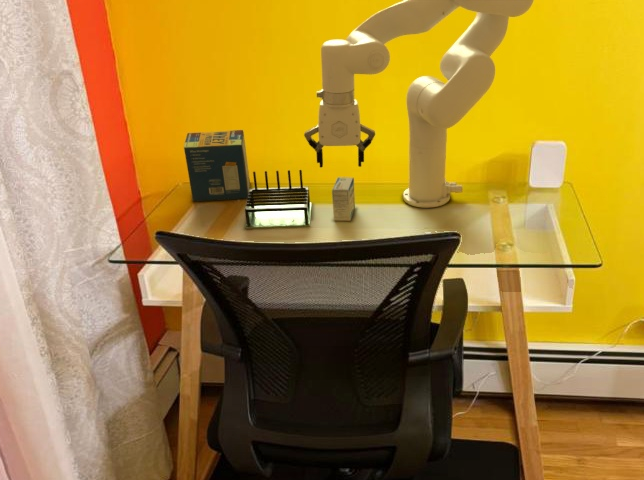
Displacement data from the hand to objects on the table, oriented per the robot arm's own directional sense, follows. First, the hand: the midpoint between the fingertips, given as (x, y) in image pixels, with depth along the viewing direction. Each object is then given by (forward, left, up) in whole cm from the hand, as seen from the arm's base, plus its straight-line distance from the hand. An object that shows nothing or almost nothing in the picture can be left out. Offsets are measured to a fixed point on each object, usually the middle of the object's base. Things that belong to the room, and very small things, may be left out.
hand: (340, 164), depth 196 cm
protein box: (+34, -16, -14) cm, 40 cm away
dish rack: (+17, 0, -14) cm, 21 cm away
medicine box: (0, 0, -14) cm, 14 cm away
